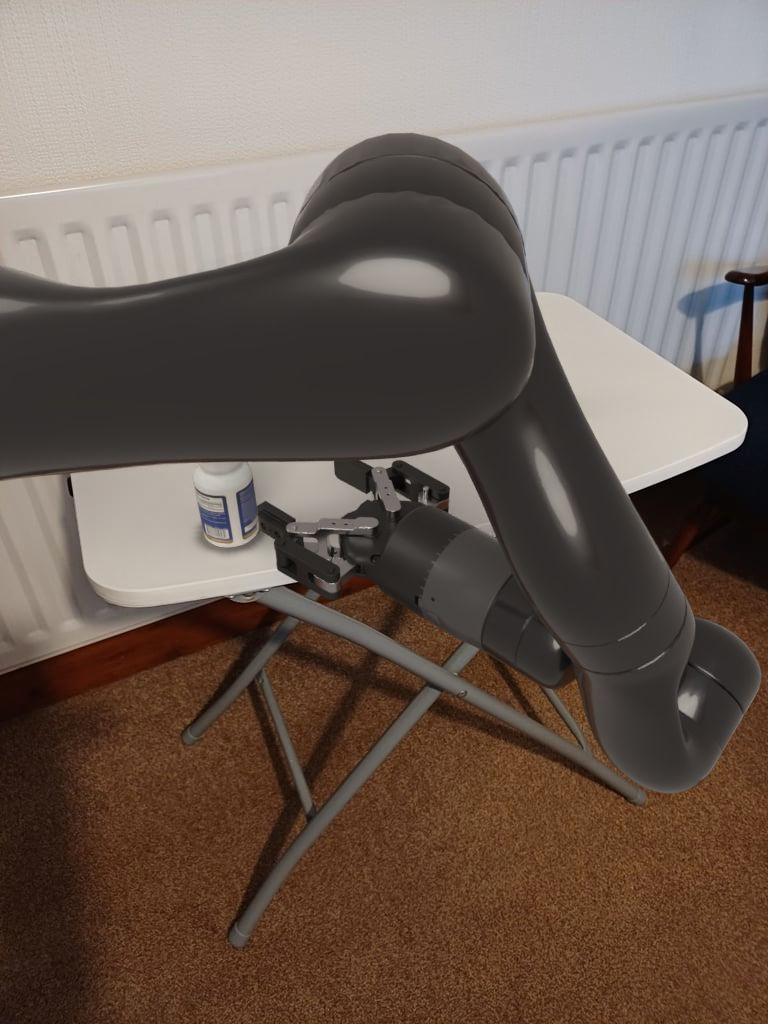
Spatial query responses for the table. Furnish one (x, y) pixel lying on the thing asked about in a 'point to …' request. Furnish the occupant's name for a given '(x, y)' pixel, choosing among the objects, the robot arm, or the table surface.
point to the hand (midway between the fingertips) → (300, 487)
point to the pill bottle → (226, 502)
